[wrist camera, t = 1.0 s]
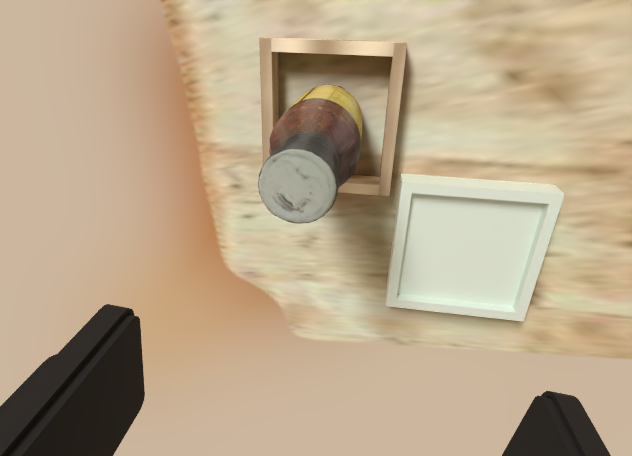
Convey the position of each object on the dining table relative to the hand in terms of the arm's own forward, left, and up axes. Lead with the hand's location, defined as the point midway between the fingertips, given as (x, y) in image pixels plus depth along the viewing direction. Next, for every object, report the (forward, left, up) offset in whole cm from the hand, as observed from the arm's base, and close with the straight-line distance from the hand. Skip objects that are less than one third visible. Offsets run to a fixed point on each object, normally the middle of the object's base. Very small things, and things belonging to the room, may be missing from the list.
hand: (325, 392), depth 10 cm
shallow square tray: (-11, +12, -32) cm, 35 cm away
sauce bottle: (+3, 0, -32) cm, 32 cm away
